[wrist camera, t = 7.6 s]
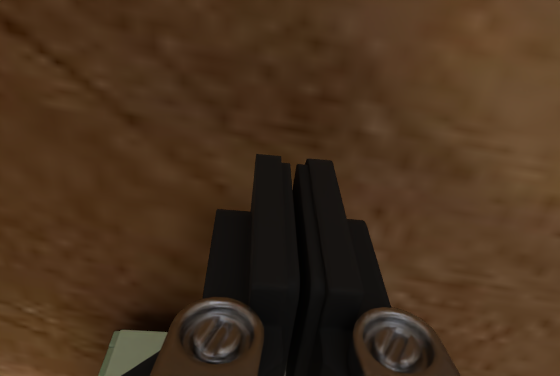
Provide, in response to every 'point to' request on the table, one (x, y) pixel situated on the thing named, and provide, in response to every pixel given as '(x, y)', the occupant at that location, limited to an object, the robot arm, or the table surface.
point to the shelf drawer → (134, 350)
